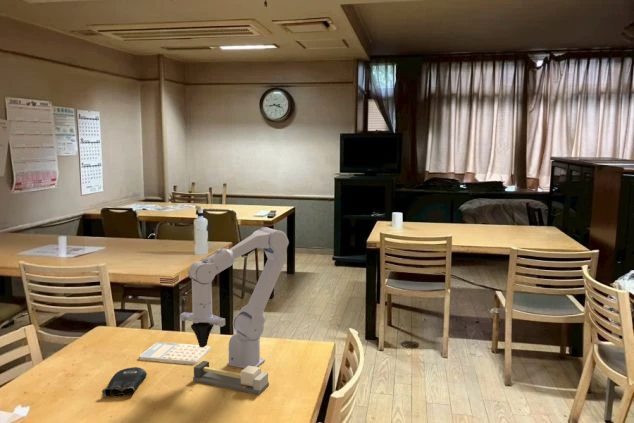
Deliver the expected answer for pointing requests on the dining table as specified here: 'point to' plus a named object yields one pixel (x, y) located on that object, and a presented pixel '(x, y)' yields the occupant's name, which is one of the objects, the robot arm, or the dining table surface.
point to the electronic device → (125, 381)
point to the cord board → (228, 379)
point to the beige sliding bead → (249, 375)
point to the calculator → (175, 353)
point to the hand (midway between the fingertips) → (203, 346)
